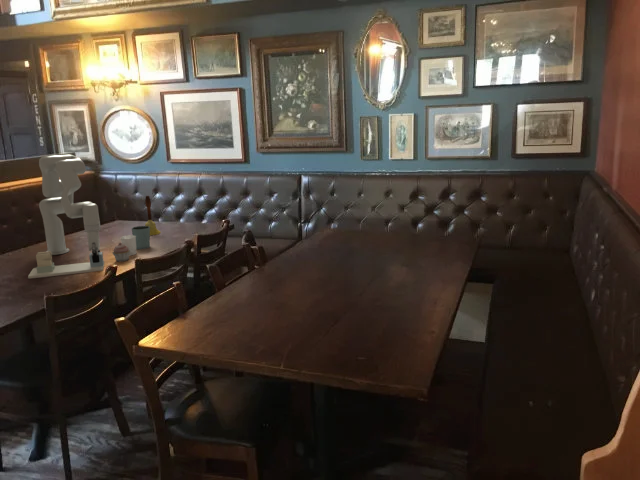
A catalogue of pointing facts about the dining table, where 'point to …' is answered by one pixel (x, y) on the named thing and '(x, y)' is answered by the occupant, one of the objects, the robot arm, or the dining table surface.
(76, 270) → the build board
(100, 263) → the blue block
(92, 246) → the robot arm
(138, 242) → the teal plant pot
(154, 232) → the handbell
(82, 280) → the dining table surface
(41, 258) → the beech block
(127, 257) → the cupcake
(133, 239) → the white cup
